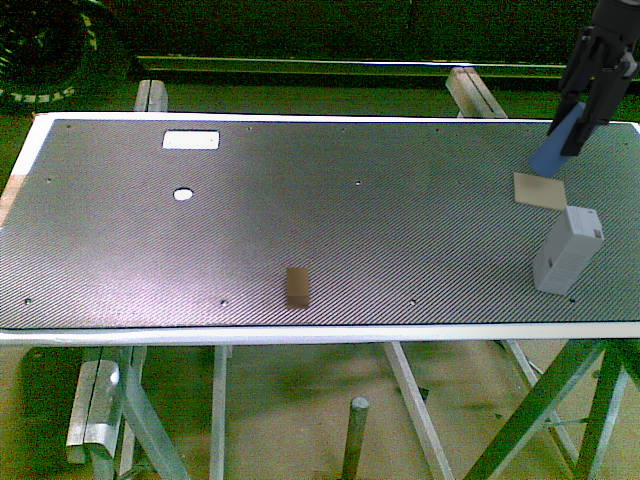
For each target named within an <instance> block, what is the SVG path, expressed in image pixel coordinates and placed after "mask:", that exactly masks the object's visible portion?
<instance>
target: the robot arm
mask: <svg viewBox="0 0 640 480" xmlns="http://www.w3.org/2000/svg"><path fill="white" fill-rule="evenodd" d="M591 22H592V24H593V25H594V26H585V25H584V26H581V27H580V28H579V31H578V34H577V39H576V43H575V45H574V48H573V49H572V52H571V55H570V57H569V58H568V61H567V63H566V65H565V68H564V69H563V73H562V74H561V77H560V79H559V81H558V83H557V89H558V90H561V92H560V98H561V99H560V101H559V103H558V106H557V108H556V110H555V114H554V117H552V118H553V119H552V121H551V123H550V125H549V127H548V129H547V132H546V134H545V135H546V136H547V137H548V136H549V135H550V134H551V133H552V132H553V131H554V130H555V129H556V127H557V126H558V125H559V124H560V123H561V122H562V121H563V119H564V118H565V117H566V116H567V115H568V114H569V113H570V111H571V110H572V109H573V108H574V107H575V106H576V105H577V103H578V102H580V101H579V100H581V99H583V98H584V97H583V96H582V93H583V91H584V90H585V88H586V87H587V86H588V84H589V82H590V81H591V79H592V78H593V81H592V83H591V87H590V90H589V93H588V96H587V99H586V103H585V104H586V105H585V108H584V112H583V115H582V118H577V119H576V121H575V123H574V126H573V128H572V130H571V132H570V134H569V136H568V138H567V140H566V142H565V144H564V146H563V148H562V150H561V152H560V155H561V156H572V157H579V155H580V153H581V151H582V149H583V147H584V145H585V144H586V143H587V142H588V141H589V139H590V138H589V136H590V134H591V133H592V131H593V129H594V127H595V126H600V127H601V126H603V127H607V126H608V125H609V124H610V122H611V120H612V118H613V116H614V114H615V112H616V111H617V109H618V107H619V105H620V103H621V101H622V100H623V97H624V95H625V94H626V92H627V90H628V88H629V87H630V84H631V82H632V80H633V79H635V77H636V75H638V74H639V73H640V61H635V59H634V57H633V54H634V51H635V47H636V43H637V41H638V39H639V38H640V0H598V2H597V4H596V6H595V9H594V11H593V14H592V16H591ZM591 114H592V115H591Z"/></svg>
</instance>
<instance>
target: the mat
mask: <svg viewBox="0 0 640 480" xmlns="http://www.w3.org/2000/svg"><path fill="white" fill-rule="evenodd" d="M512 177H513V201H514V203H516V204H520V205H527V206H531V207H535V208H541V209H546V210H550V211H551V210H552V211H556V212H561V213H562V211H563V209H564V208H565V206H568V201H567V196H566V190H565V184H564V181H563V180H559V179H554V178H546V177H544V176H537V175H533V174H527V173H522V172H517V171H513V173H512Z"/></svg>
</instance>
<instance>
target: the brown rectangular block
mask: <svg viewBox="0 0 640 480" xmlns="http://www.w3.org/2000/svg"><path fill="white" fill-rule="evenodd" d="M309 275H310V274H309V267H286V310H309V308H310V279H309V278H310V277H309Z"/></svg>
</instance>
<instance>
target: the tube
mask: <svg viewBox="0 0 640 480" xmlns="http://www.w3.org/2000/svg"><path fill="white" fill-rule="evenodd" d="M585 105H586V103H585V102H582V101H579V102H578V103H577V105H576V106H575V107H574V108H573V109H572V110H571V111H570V113H569V114H568V115H567V116H566V117H565V118H564V119H563V121H562V122H561V123H560V124H559V125H558V126H557V127H556V129H555V130H554V131H553V132H552V133H551V134H550V135H549V136H547V137H546V138H545V140H544V141H543V142H542V143H541V144H540V145H539V147H538V148H536V150H535V151H534V152H533V154H531V156H530V157H529V158H528V159H527V164H528V165H529V167H530V168H531V169H532V170H533V171H534V172H536V173H537V174H538V175H540V176H541V177H543V178H549V179H553V177H554V176H555V175H556V174H557V173H558V172H559V170H560V169H561V168H563V166H565V164H566V163H567V162H568V161H569V160H570V159H571V158H572V157H573V156H561V155H560V152H561V150H562V148H563V146H564V144H565V142H566V140H567V138H568V136H569V134H570V132H571V130H572V128H573V126H574V123H575V121H576V119H577V118H582V115H583V112H584V108H585ZM591 115H592V114H591ZM599 128H601V126H595V127H594V129H593V131H592V133H591V134H590V136H589V139H590V138H591V137H592V136H593V135H594V134H595V133H596V131H598V129H599Z"/></svg>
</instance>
